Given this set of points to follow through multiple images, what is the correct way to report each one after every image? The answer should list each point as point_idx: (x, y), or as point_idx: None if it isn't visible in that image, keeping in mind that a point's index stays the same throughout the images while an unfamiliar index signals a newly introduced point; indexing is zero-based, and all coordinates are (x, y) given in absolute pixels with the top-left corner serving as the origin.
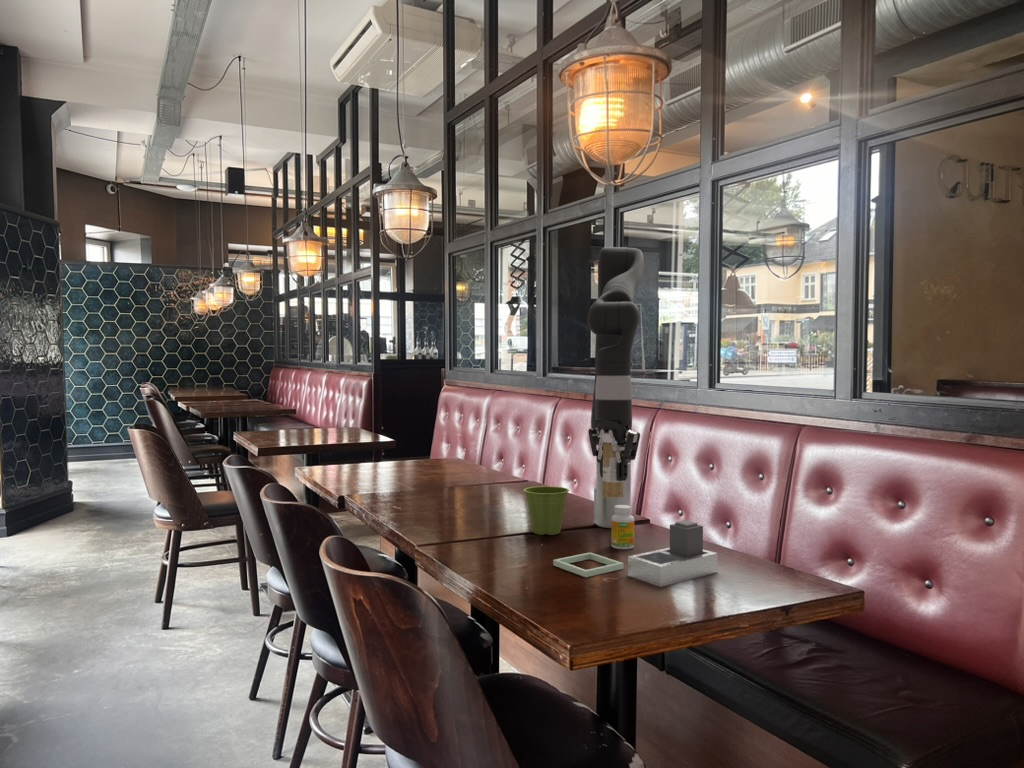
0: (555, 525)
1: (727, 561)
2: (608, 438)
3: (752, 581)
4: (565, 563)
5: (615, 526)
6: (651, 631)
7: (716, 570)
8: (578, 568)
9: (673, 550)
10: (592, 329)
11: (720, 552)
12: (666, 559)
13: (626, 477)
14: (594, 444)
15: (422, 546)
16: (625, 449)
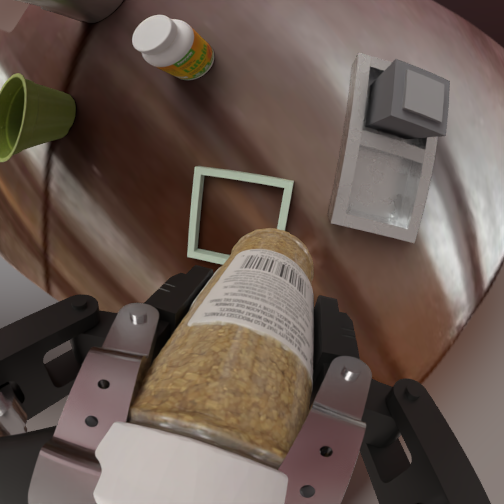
0: (65, 114)
1: (397, 19)
2: None
3: (480, 110)
4: (216, 260)
5: (170, 69)
6: (436, 365)
7: None
8: None
9: (384, 126)
10: None
11: None
12: (378, 150)
13: (346, 318)
14: (62, 397)
15: (51, 293)
16: (382, 483)
